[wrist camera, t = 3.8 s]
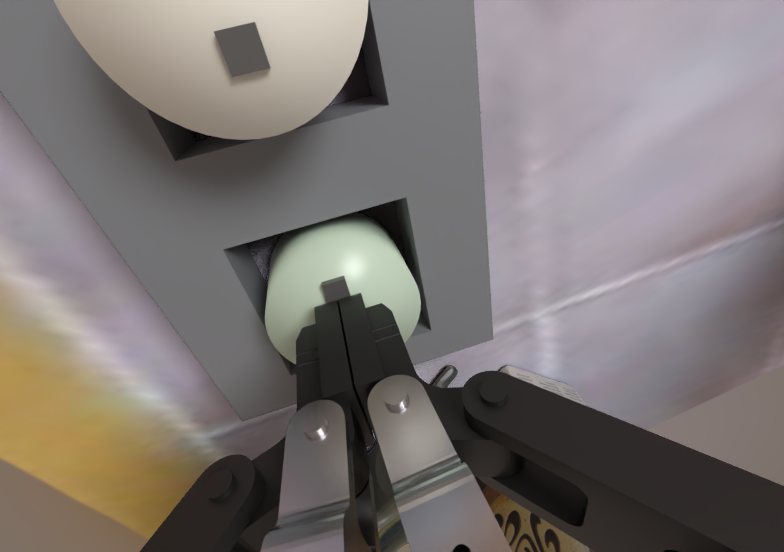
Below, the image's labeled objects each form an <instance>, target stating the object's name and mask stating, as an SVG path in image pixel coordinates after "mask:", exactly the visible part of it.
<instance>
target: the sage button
mask: <svg viewBox="0 0 784 552" xmlns="http://www.w3.org/2000/svg"><path fill="white" fill-rule="evenodd" d="M358 293H361V294H362V298H363V301H364V304H365V307H366V308H367V307H370V306H374V305H377V304H380V303H382V304H384V305H385V306H386V307H387V308H389V309H390V310H391V311H392V312H393V315H394V318H395V320H396V323H397V325H398V328H399V331H400V334H401V336H402V338H403V341H404V343H405V342H406V341H407V340H408V339H409V337H410V336H411V334H412V333H413V331H414V329H415V327H416V325H417V322H418V319H419V315H420V309H421V300H420V293H419V290H418V286H417V284H416V282H415V280H414V278H413V276H412V274H411V272H410V271H409V269H408V267H407V265H406V263H405V261H404V259H403V257H402V256H401V254H400V252H399V250H398V248H397V246H396V244H395V242H394V241H393V239H392V237H391V236H390V234H389V233H388V232H387V231H386V229H385V228H384V227H383V226H381V225H380V224H379V223H378V222H376V221H375V220H373V219H372V218H370V217H368V216H365V215H363V214H360V213H357V212H353V213H349V214H346V215H342V216H339V217H335V218H332V219H328V220H325V221H321V222H318V223H314V224H311V225H307V226H304V227H300V228H297V229H293V230H290V231H286V232H285V233H284V234H283V235H282V236H281V237H280V239H279V240H278V242H277V243H276V245H275V248H274V250H273V252H272V256H271V260H270V269H269V279H268V289H267V299H266V309H265V326H266V330H267V333H268V336H269V338H270V340H271V342H272V344H273V345H274V347H275V348H276V349H277V350H278V351H279V352H280V354H281V355H283V356H284V357H285V358H286V359H288V360H289V361H291V362H292V363H294V364H296V357H297V356H296V340H297V338H298V336H299V333H300V331H301V329H302V328H303V327H306V326H310V325H313V324H316V322H315V311H314V307H316V306H319V305H323V304H326V303H329V302H332V301H336V300H337V301H338V303H339V299H342V298H345V297H348V296H352V295H355V294H358ZM339 305H340V304H339Z"/></svg>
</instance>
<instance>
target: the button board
mask: <svg viewBox="0 0 784 552" xmlns="http://www.w3.org/2000/svg"><path fill="white" fill-rule="evenodd" d="M362 49H363V54H364V59H365V64H366V69H367V73H368V78H369V83H370V88H371V92H372V95H371V96H368V97H364V98H360V99H356V100H352V101H348V102H345V103H341V104H337V105H333V106H329V107H325V108H324V109H323V110H322V111H321V112H320V113H319V114H318V115H316V116H315V117H314V118H312V119H311V120H309V121H308V122H307V123H305V124H303V125H301V126H299V127H297V128H295V129H293V130H291V131H289V132H286V133H283V134H280V135H277V136H272V137H267V138H262V139H250V140H237V139H224V138H219V137H210V138H206V139H202V140H198V141H196V140H195V138H194V136H193V134H192V132H191V130H190V129H187V128H184V127H182V126H180V125H178V124H176V123H173V122H171V121H169V120H167V119H165V118H164V117H162V116H160V115H158V114H157V113H155V112H153V111H151V110H150V109H148V108H147V107H145V106H144V105H143V104H141V103H140V102H138V101H137V100H136V99H134V98H133V97H132V96H130V95H129V94H128V93H127V92H126V91H124V90H123V89H122V88H121V87H120V86H119V85H118V84H116V83H115V82H114V81H113V80H112V79H111V78H110V77H109V76H108V75H107V74H106V73H105V72H104V71H103V70H102V69H101V68H100V67H99V65H98V64H97V63H96V62H95V61H94V60H93V59H92V58H91V56H90V55H89V54H88V53H87V51H86V50H85V49H84V47H83V46H82V45H81V44H80V42H79V41H78V40H77V38H76V37H75V35H74V34H73V32H72V31H71V29H70V28H69V26H68V25H67V23H66V21H65V20H64V18H63V17H62V15H61V13H60V11H59V10H58V8H57V6H56V4H55V2H54V0H0V91H1V92H2V94H3V95H4V97H5V98H6V99H7V101H8V102H9V103H10V105H11V106H12V107H13V109H14V110H15V112H16V113H17V114H18V116H19V117H20V118H21V120H22V121H23V122H24V124H25V125H26V127H27V128H28V129H29V131H30V132H31V133H32V135H33V136H34V138H35V139H36V140H37V142H38V143H39V144H40V146H41V147H42V148H43V150H44V151H45V153H46V154H47V155H48V157H49V158H50V159H51V161H52V162H53V163H54V165H55V166H56V168H57V169H58V170H59V172H60V173H61V174H62V176H63V177H64V178H65V180H66V181H67V183H68V184H69V185H70V187H71V188H72V189H73V191H74V192H75V193H76V195H77V196H78V198H79V199H80V200H81V202H82V203H83V204H84V206H85V207H86V208H87V210H88V211H89V213H90V214H91V215H92V217H93V218H94V219H95V221H96V222H97V223H98V225H99V226H100V228H101V229H102V230H103V232H104V233H105V234H106V236H107V237H108V238H109V240H110V241H111V243H112V244H113V245H114V247H115V248H116V249H117V251H118V252H119V253H120V255H121V256H122V258H123V259H124V260H125V262H126V263H127V264H128V266H129V267H130V268H131V270H132V271H133V273H134V274H135V275H136V277H137V278H138V279H139V281H140V282H141V283H142V285H143V286H144V288H145V289H146V290H147V292H148V293H149V294H150V296H151V297H152V299H153V300H154V301H155V303H156V304H157V305H158V307H159V308H160V309H161V311H162V312H163V314H164V315H165V316H166V318H167V319H168V320H169V322H170V323H171V324H172V326H173V327H174V329H175V330H176V331H177V333H178V334H179V335H180V337H181V338H182V339H183V341H184V342H185V344H186V345H187V346H188V348H189V349H190V350H191V352H192V353H193V354H194V356H195V357H196V359H197V360H198V361H199V363H200V364H201V365H202V367H203V368H204V369H205V371H206V372H207V374H208V375H209V376H210V378H211V379H212V380H213V382H214V383H215V384H216V386H217V387H218V389H219V390H220V391H221V393H222V394H223V395H224V397H225V398H226V399H227V401H228V402H229V404H230V405H231V406H232V408H233V409H234V410H235V412H236V413H237V414H238V416H239V417H240V419H241V420H242V421H245V420H248V419H251V418H254V417H257V416H260V415H263V414H266V413H269V412H272V411H275V410H278V409H281V408H284V407H287V406H290V405H293V404H297V385H296V368H297V366H296V364H294V363H292V362H291V361H289V360H288V359H286V358H285V357H284V356H283V355H281V354H280V352H279V351H278V350H277V349H276V348H275V347H274V345H273V344H272V342H271V340H270V338H269V336H268V333H267V330H266V326H265V309H266V299H267V289H268V287H267V284H266V282H265V280H264V278H263V276H262V274H261V272H260V270H259V268H258V266H257V264H256V262H255V260H254V258H253V256H252V254H251V252H250V250H249V248H248V246H247V244H246V243H248V242H251V241H255V240H258V239H262V238H265V237H269V236H272V235H276V234H279V233H283V232H286V231H290V230H293V229H297V228H300V227H304V226H307V225H311V224H314V223H318V222H321V221H325V220H328V219H332V218H335V217H339V216H342V215H346V214H349V213H353V212H356V211H360V210H363V209H367V208H370V207H374V206H377V205H381V204H384V203H388V202H391V201H394V202H395V207H396V212H397V216H398V221H399V226H400V231H401V235H402V240H403V245H404V250H405V255H406V259H407V264H408V269H409V271H410V272H411V274H412V276H413V278H414V280H415V282H416V284H417V286H418V290H419V293H420V300H421V309H420V315H419V319H418V322H417V325H416V327H415V329H414V331H413V333H412V334H411V336H410V337H409V339H408V340H407V341H406V342H405V343H404V344H405V346H406V349H407V351H408V354H409V356H410V359H411V362H412V364H413V365H416V364H419V363H422V362H425V361H428V360H431V359H434V358H437V357H440V356H443V355H446V354H449V353H452V352H455V351H459V350H462V349H465V348H468V347H471V346H474V345H477V344H480V343H483V342H486V341H489V340H492V339H493V327H492V310H491V293H490V275H489V258H488V241H487V224H486V206H485V189H484V172H483V154H482V137H481V120H480V102H479V85H478V68H477V50H476V33H475V16H474V0H368V14H367V22H366V27H365V33H364V38H363V42H362Z"/></svg>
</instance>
